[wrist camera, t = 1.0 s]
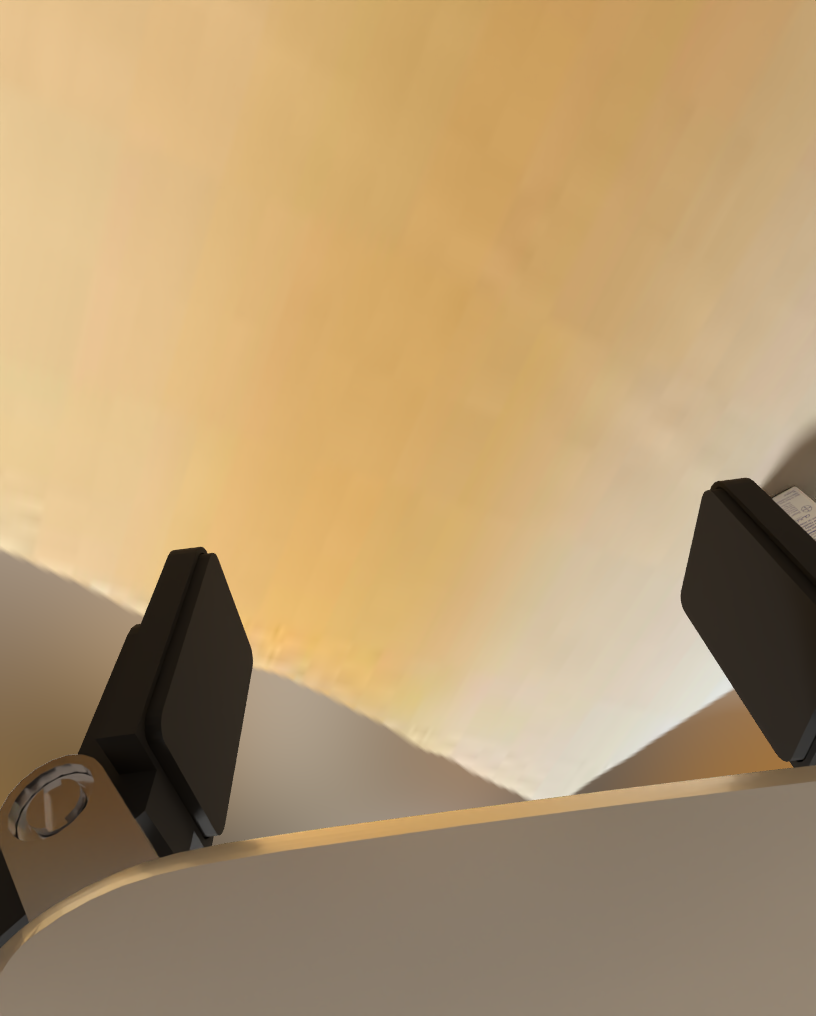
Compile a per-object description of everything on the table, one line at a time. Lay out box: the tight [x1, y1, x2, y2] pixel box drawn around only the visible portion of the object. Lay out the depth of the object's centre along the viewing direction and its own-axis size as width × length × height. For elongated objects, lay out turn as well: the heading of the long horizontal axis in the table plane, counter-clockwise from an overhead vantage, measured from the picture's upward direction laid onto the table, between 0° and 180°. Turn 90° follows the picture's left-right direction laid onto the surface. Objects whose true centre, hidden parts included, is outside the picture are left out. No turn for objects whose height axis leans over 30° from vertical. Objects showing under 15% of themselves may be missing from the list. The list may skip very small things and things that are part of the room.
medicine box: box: [772, 487, 816, 541], centre depth 45 cm, size 8×4×9 cm, turn 36°
